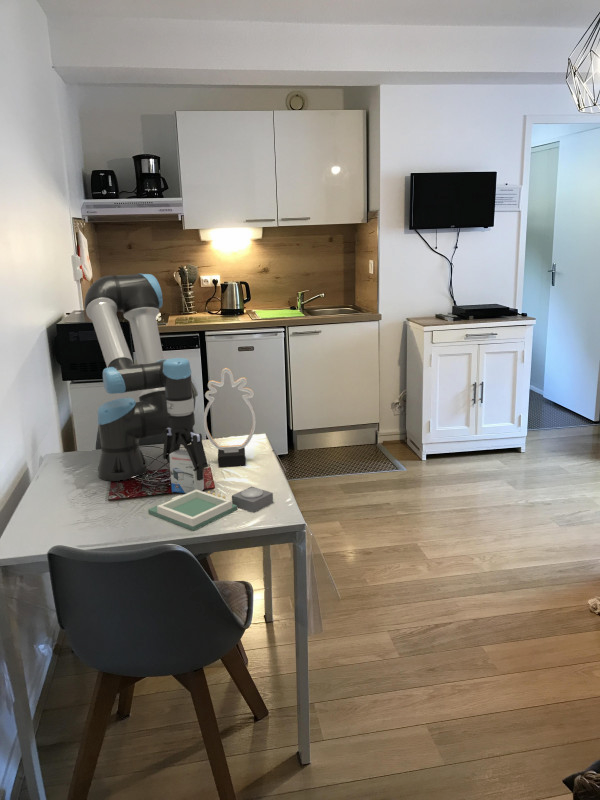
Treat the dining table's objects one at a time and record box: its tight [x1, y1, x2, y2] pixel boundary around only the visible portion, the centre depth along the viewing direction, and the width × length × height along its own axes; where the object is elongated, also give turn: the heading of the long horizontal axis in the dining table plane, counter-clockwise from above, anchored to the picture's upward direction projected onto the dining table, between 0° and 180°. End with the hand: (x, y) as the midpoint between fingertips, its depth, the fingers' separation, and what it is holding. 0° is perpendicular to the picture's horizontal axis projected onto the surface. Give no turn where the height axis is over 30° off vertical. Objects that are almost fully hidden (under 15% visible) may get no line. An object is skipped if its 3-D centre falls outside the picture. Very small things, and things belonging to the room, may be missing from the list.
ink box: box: [169, 448, 205, 494], centre depth 189 cm, size 9×5×12 cm, turn 73°
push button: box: [231, 486, 274, 514], centre depth 179 cm, size 8×8×4 cm
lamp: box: [203, 367, 257, 469], centre depth 209 cm, size 17×9×32 cm, turn 96°
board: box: [147, 489, 238, 532], centre depth 175 cm, size 18×16×3 cm
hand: (187, 486), depth 190 cm, fingers closed on ink box, 9 cm apart
